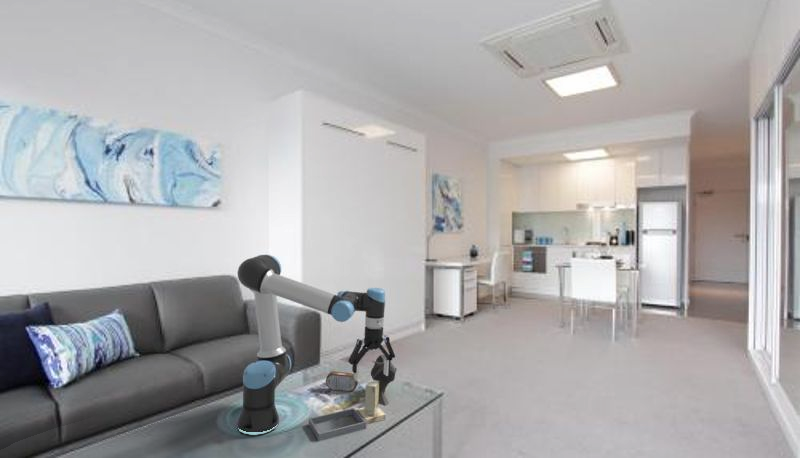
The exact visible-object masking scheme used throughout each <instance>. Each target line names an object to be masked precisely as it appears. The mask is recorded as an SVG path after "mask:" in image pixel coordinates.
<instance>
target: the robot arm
mask: <svg viewBox="0 0 800 458" xmlns="http://www.w3.org/2000/svg"><path fill="white" fill-rule="evenodd" d="M281 273H282V265H281V262H280V261H279V259H278V258H276V257H275V256H273V255H271V254H260V255H257V256H254V257H251V258H247V259H246V260H244V261H243V262H241V264H239V267H238V269H237V279H238V280H239V283H240V284H241V285H242V286H244V287H245V288H247V289H249V290H250V291H251V292H252V293H253V294H254V303H255V314H256V323H257V333H258V339H259V350H258V352H257V354H256V358H257V360H256V361H255V362H251V363H250V364H248V365H247V366H246V367H245V368H244V370H243V376H242V408H241V412H240V415H239V417H238V421H237V429H238V428H239V429H241V430H243V431H246V432H263V431H267V430H270V429H272V428H273V427H275V426H276V425H277V424H278V423H279V424H280V416H279V412H278V410H277V407H276V405H275V400H276V398H275V397H276V395H275V394H276V388H277V387H279V385H280V384H281V383H282V382H283V380H285V379H286V378H287V377H288V375H289V372H290V371H291V368H292V361H291V360H292V359H291V357H290V355H289V354H287V349H286V348H285V347H284V346H283V344H282V338H281V337H282V335H281V328H280V327H281V325H280V317H279V309H278V299H277V297H279V298H282V299H285V300H288V301H290V302H293V303H296V304H299V305H302V306H304V307H307V308H310V309H314V310H316V311H319V312H322V313H324V314H327V315H330V316H332V318H333V319H334V320H335V321H336V322H338V323H339V322H340V323H344V322H347V321H348V320H349V319H351V318H352V317H353V316H354V313H355V312H365V316H364V318H365V319H364V322H365V323H364V325H365V326H364V335H363V336H364V338H363V339H360V338H358V339H356V344H355V346H354V348H353V350H352V352H351V355H349V358H348V360H347V362H348V363H349V364H350V365H352V368H351V369H352V370H351V371H352V372H353V374H354V380H355V381H358V382H359V371H360V365H359V363H360V361H361V360H362V359H363V357H364V356H365V355H366V353H368V352H369V351H373V350H378V349H379V350H380V351H381V353H382V355H385V356H386V358H387V359H386V358H384V373H383V374H385V375H386V376H388V369H389V367H390V363H392V362H391V361H393V359H394V358H396V354H395V352H394V349H393V347H392V345H391V342H390V337H389V336H387V335H384V322H385V321H384V319H385V306H386V291H385V290H384V289H383V288H380V287H369V288H367V289H366V292H359V291H349V290H340V291H338V292H337V293H336V294H335V293H331V292H328V291H325V290H322V289H320V288H317V287H314V286H311V285H308V284H306V283H303V282H300V281H297V280H294V279H292V278H289V277H285V276H284V275H281ZM383 342H384V344H385V347H386V348H387V350H386V349H385V348H384V346H383V345H382V343H383ZM279 424H278V425H279Z"/></svg>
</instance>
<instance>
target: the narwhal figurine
mask: <svg viewBox="0 0 800 458" xmlns="http://www.w3.org/2000/svg"><path fill="white" fill-rule="evenodd" d="M384 358H386V356H385V355H384V354H381V355H378V357H377V358H376V360H372V363H374V365H373V367H372V368H371V371H370V376H371V379H372V380H376V381H379V399H378V405H379V404H380V405H382V406H388V405H389V404H390V403H389V400H388V399H387V397H386V394H385V393H386V389H387V387H388V386H389V384H390V383H392V382H393V381H395V378H396V372H397V370H398V368H397V367H395V366H394V364H392V362H391V363H390V367H389V369H388V376H386V375H385V374H383V373H384ZM386 359H387V358H386Z"/></svg>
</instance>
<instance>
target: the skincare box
mask: <svg viewBox="0 0 800 458" xmlns="http://www.w3.org/2000/svg"><path fill="white" fill-rule="evenodd" d="M364 394H365V395H364V396H365V398H364V407H365V415H371V416H375V414H376V412H377V410H378V407H379V403H378V399H379V381H376V380H373V379H369V380H368V381H367V383H366V384H365V393H364Z"/></svg>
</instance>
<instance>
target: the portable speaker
mask: <svg viewBox="0 0 800 458" xmlns="http://www.w3.org/2000/svg"><path fill="white" fill-rule="evenodd" d="M325 384H326V387H327V388H328V389H330V390H331V391H338V392H345V393H346V392H347V393H350V392H354V390H356V389H357V388H358V384H359V380H358V381H355V380H354V373H352V372H345V371H331V372H329V373H328V375H327V376H326V379H325Z"/></svg>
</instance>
